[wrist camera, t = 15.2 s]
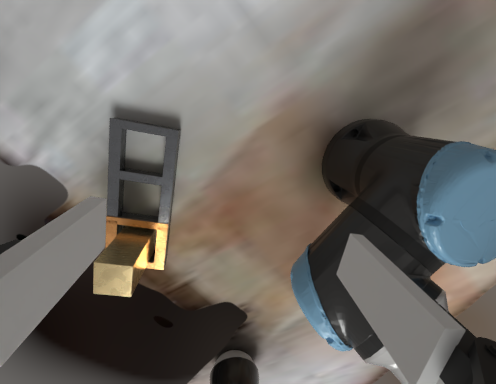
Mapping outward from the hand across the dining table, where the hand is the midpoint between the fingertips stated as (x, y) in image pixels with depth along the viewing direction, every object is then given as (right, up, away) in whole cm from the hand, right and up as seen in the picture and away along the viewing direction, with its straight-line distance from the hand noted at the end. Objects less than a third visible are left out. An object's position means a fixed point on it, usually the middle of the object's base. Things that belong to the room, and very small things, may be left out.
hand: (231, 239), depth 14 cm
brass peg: (-19, -6, +33) cm, 38 cm away
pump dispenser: (-2, -35, +44) cm, 56 cm away
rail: (-17, +2, +30) cm, 35 cm away
